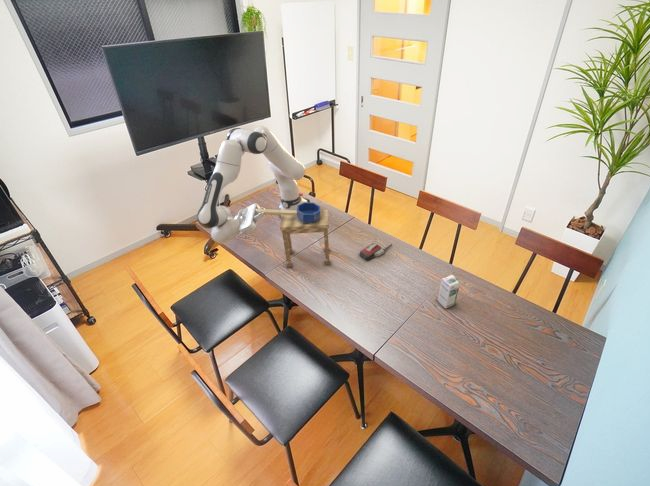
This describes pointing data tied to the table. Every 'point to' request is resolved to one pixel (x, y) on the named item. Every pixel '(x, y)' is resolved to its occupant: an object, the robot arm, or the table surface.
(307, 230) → the stand
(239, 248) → the table surface
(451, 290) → the syrup box
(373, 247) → the walkie-talkie
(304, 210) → the blue saucepan
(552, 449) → the table surface
